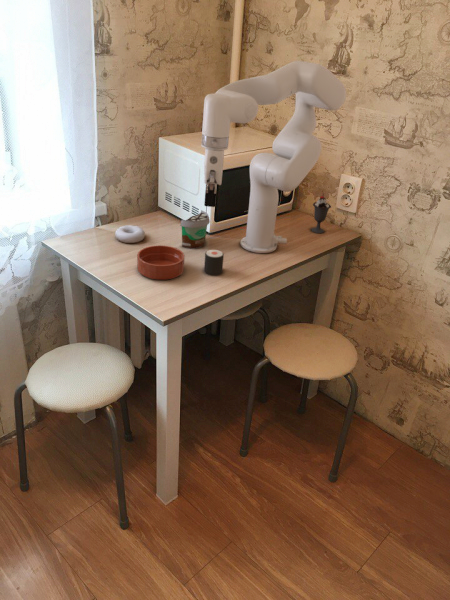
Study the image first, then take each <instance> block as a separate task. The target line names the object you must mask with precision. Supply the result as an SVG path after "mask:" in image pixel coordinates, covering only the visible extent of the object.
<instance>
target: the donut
mask: <svg viewBox="0 0 450 600" xmlns="http://www.w3.org/2000/svg"><path fill="white" fill-rule="evenodd" d="M114 233H115V234H114V236H115V238H116V240H118V241H119V242H122V243H125V244H126V243H127V244H135V243H139V242H141V241H143V239H144V238H145V237H146V231H145V230H144V229H143V228H142V227H141V226H138V225H132V224H127V225H122V226H120V227H119V226H118V228H116V230H115V232H114Z"/></svg>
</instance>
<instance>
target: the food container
mask: <svg viewBox="0 0 450 600" xmlns="http://www.w3.org/2000/svg"><path fill="white" fill-rule="evenodd" d="M209 216H210V215H209V214H208V213H207V212H206V211H204V210H200V213H198V214H196V215H195V214H194V215H191V216H190V217H188V218H187V219H181V221H180V227H181V246H182V248H185V249H198V248H202V247H204V246H205V244H206V243H205V242H206V236H207V229H208V225H210V223H211V221H210V217H209Z"/></svg>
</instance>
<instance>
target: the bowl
mask: <svg viewBox="0 0 450 600" xmlns="http://www.w3.org/2000/svg"><path fill="white" fill-rule="evenodd" d="M136 264H137V265H136V266H137V268H136V269H137V272H139V274H140V275H142V276H144V277H146V278H148V279H152V280H157V281H167V280H173V279H175V278H178V277H179V276H181V275H182V274H183V273H184V271H185V253H184V252H183V251H182V250H181V249H179V248H177V247H174V246H170V245H161V244H160V245H150V246H146V247H143V248H141V249H139V251H138V252H137V255H136Z"/></svg>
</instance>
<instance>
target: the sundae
mask: <svg viewBox="0 0 450 600" xmlns="http://www.w3.org/2000/svg"><path fill="white" fill-rule="evenodd" d="M321 192H322V195H320V198H318V200H317V201H315V202H313V203H312V207H314V208H313V209H314V213H313V215H314V216H313V217H314V220H315V221H316V227H311V229H310V230H311V232H312V233H315V234H323V233H324V232H325V230H324V229H323V228H321V223H323V222H324V221H325V220H326V218H327V217H328V216H327V215H328V213H329V210H330V209H331V208H332V205H331V204H330V203H328V201H327V199H326V198H325V193H324V190H321Z"/></svg>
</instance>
